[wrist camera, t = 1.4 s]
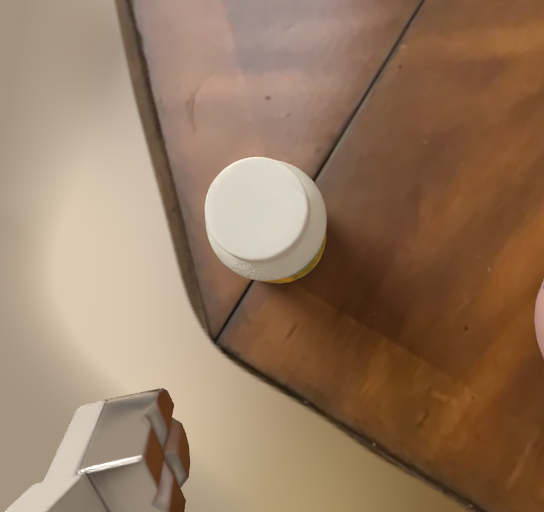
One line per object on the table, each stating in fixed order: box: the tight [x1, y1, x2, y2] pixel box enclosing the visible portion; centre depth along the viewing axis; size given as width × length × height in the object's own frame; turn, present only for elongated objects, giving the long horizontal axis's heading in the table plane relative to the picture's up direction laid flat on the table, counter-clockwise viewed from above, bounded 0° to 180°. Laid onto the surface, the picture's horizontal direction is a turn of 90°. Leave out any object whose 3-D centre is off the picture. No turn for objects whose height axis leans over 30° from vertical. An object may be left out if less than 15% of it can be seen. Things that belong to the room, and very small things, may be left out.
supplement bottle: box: [205, 157, 327, 283], centre depth 22 cm, size 5×5×10 cm
